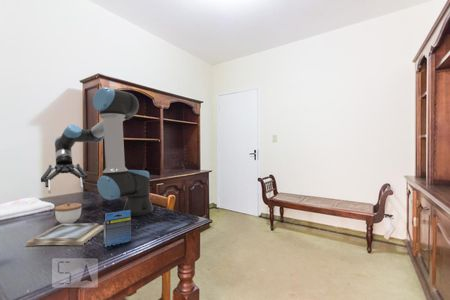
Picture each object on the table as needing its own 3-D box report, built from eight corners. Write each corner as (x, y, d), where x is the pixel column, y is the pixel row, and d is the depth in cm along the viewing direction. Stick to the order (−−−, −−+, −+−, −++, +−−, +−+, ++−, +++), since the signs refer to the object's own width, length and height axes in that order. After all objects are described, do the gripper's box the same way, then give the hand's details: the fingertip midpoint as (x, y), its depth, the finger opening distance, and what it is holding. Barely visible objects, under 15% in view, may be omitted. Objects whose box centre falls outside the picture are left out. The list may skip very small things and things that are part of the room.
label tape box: (128, 238, 91) (128, 207, 90) (131, 241, 87) (130, 209, 87) (103, 243, 85) (103, 211, 85) (105, 247, 82) (105, 213, 82)
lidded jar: (72, 226, 104) (71, 205, 104) (48, 225, 104) (48, 205, 104) (86, 218, 115) (86, 199, 115) (65, 218, 115) (65, 199, 115)
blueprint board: (104, 228, 101) (104, 222, 101) (82, 245, 84) (82, 238, 84) (57, 229, 100) (57, 223, 100) (25, 246, 83) (25, 239, 83)
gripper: (89, 162, 138) (93, 191, 127) (35, 164, 123) (34, 197, 111) (90, 154, 134) (94, 183, 122) (34, 155, 119) (34, 188, 107)
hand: (66, 190), depth 117 cm, fingers open, 13 cm apart
